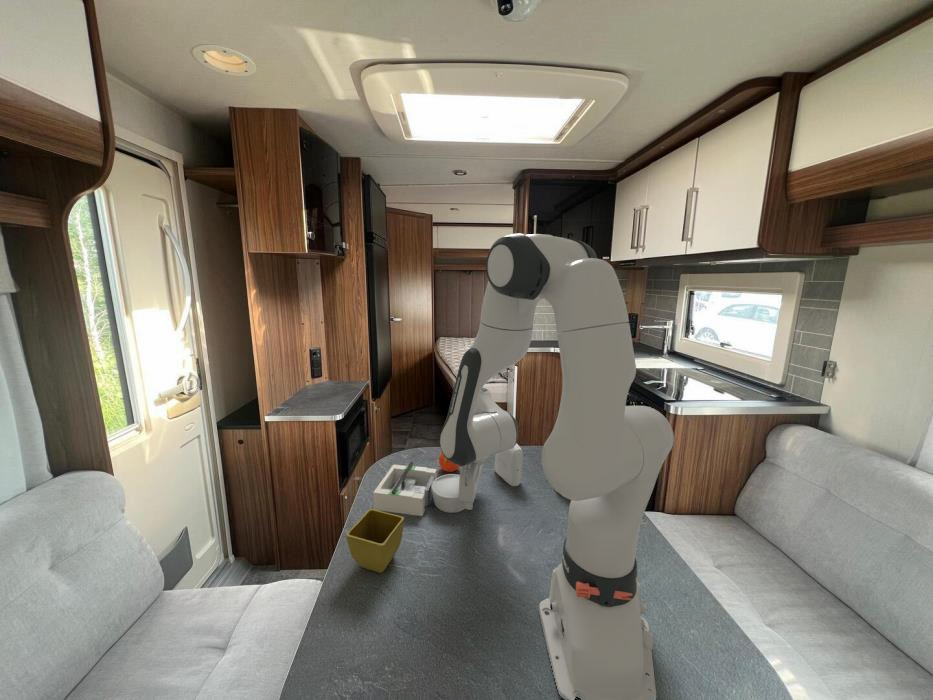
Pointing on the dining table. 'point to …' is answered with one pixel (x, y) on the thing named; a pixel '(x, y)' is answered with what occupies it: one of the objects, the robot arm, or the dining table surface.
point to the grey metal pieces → (414, 486)
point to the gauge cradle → (402, 499)
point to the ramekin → (447, 493)
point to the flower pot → (375, 539)
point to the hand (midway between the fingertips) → (472, 496)
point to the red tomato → (447, 464)
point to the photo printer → (510, 465)
